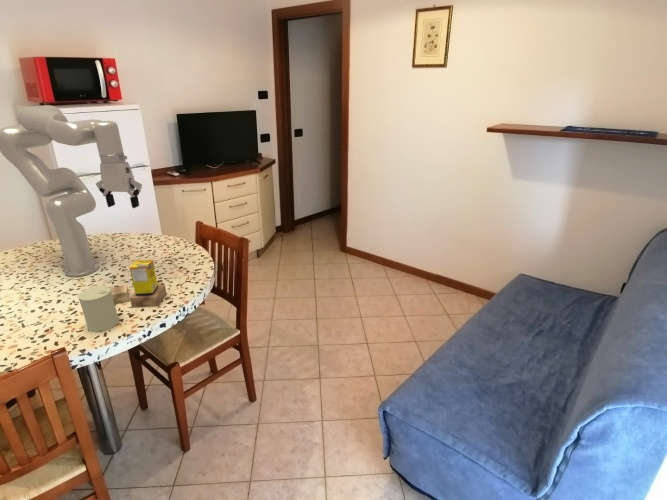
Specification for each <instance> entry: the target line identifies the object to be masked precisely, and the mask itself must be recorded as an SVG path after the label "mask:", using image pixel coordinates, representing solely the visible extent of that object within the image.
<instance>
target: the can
mask: <svg viewBox="0 0 667 500" xmlns="http://www.w3.org/2000/svg"><path fill="white" fill-rule="evenodd" d="M111 288H112V287H110V286H107V285H96V286H91V287H88V288H86V289H84V290H83V291H81V292H79V293H78V296H77V298H78V301H79V302H80V303H79V304H80V307H81V310H82V314H83V317H84V319H85V323H86V329H87V330H88V331H90V332H94V333H97V332H104V331H108V330H110V329H111V328H114V327H115V326H117V324H119V322H120V317H119V315H118V313H117V309H116V304H114V301H113V297H112V293H111Z"/></svg>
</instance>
